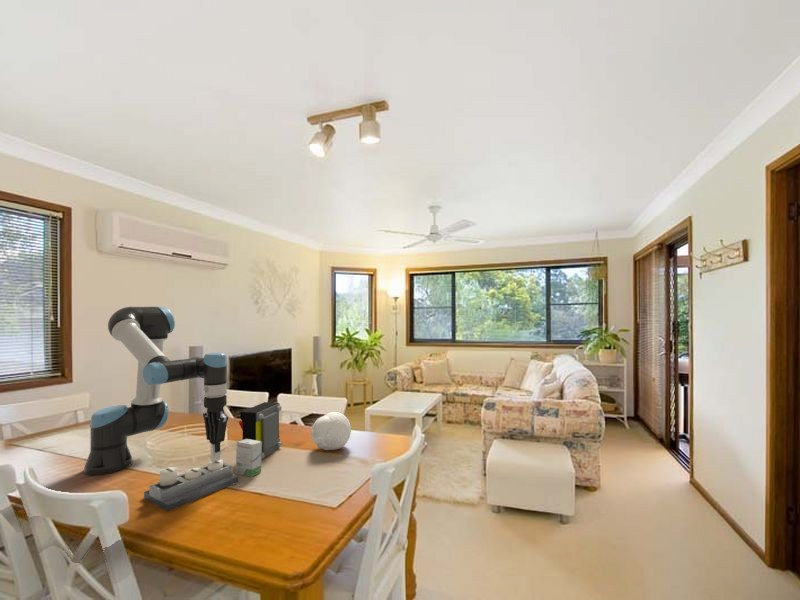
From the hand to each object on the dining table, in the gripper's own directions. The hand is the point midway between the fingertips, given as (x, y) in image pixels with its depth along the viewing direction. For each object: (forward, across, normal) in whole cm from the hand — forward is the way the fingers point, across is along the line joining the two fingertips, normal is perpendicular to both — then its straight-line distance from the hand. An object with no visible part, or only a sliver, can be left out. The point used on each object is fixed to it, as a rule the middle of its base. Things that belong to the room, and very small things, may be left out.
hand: (215, 460), depth 138 cm
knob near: (+2, 0, -16) cm, 16 cm away
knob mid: (+5, 0, -8) cm, 9 cm away
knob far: (+5, 0, 0) cm, 5 cm away
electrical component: (+8, -9, +26) cm, 28 cm away
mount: (+7, 0, -8) cm, 11 cm away
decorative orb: (+8, +14, +46) cm, 49 cm away
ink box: (+8, +4, +11) cm, 14 cm away
